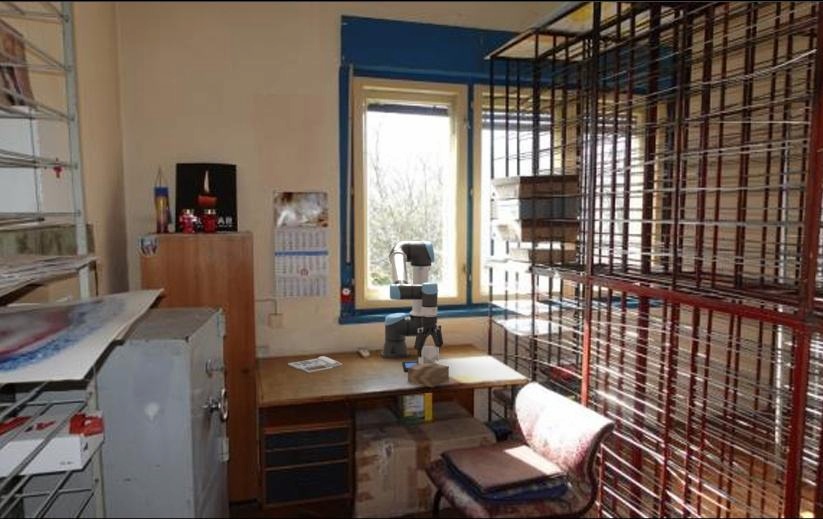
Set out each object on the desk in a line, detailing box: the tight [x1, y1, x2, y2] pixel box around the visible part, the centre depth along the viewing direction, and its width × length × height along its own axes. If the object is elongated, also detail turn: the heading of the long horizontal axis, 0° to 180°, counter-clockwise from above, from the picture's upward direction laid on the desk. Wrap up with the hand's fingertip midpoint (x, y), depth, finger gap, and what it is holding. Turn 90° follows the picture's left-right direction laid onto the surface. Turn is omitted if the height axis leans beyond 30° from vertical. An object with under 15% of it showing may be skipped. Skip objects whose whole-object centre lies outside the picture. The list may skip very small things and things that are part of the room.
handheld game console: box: [402, 359, 419, 373], centre depth 277 cm, size 16×13×9 cm
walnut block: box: [407, 362, 450, 388], centre depth 255 cm, size 14×14×7 cm
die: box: [422, 345, 438, 363], centre depth 254 cm, size 8×9×10 cm
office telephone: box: [287, 355, 343, 374], centre depth 280 cm, size 23×3×20 cm
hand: (428, 361), depth 255 cm, fingers closed on die, 9 cm apart
